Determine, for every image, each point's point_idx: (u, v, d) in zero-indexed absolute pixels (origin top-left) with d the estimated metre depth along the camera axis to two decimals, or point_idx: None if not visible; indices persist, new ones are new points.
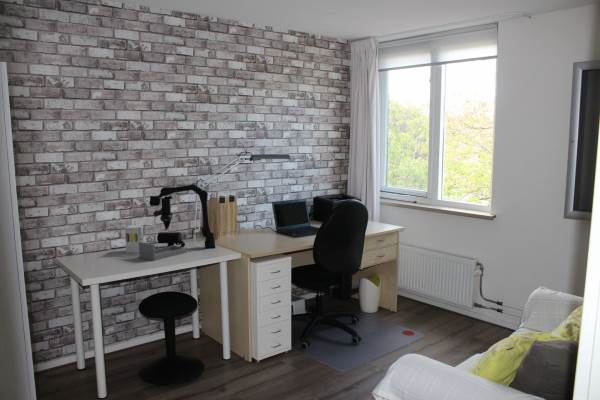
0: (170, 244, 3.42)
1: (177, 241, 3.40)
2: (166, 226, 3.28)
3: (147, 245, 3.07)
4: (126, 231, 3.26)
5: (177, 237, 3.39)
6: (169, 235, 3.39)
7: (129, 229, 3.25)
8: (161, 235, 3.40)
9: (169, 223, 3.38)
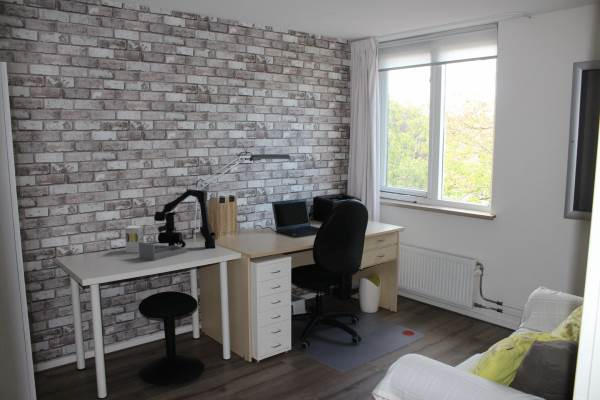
0: (171, 244, 3.42)
1: (178, 241, 3.40)
2: (170, 241, 3.38)
3: (147, 245, 3.07)
4: (126, 231, 3.26)
5: (178, 237, 3.39)
6: None
7: (129, 229, 3.25)
8: (162, 235, 3.39)
9: None
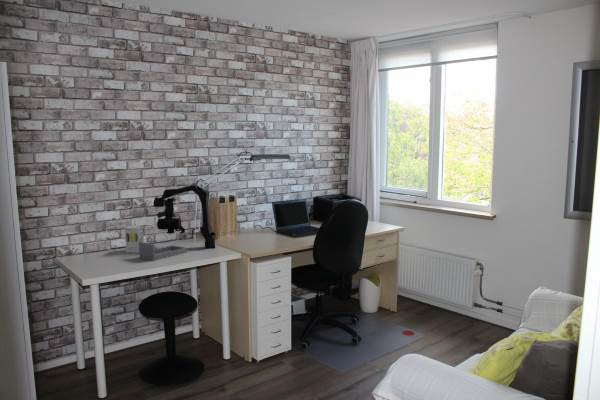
0: None
1: (177, 227, 3.39)
2: (169, 227, 3.37)
3: (147, 245, 3.07)
4: (126, 231, 3.26)
5: (177, 223, 3.37)
6: None
7: (129, 229, 3.25)
8: (161, 221, 3.38)
9: None
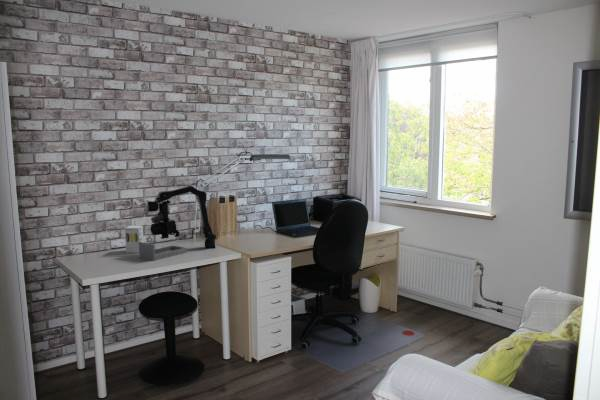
0: (165, 235, 3.23)
1: (174, 230, 3.24)
2: (168, 231, 3.20)
3: (147, 245, 3.07)
4: (126, 231, 3.26)
5: (175, 226, 3.24)
6: None
7: (129, 229, 3.25)
8: (157, 226, 3.18)
9: None
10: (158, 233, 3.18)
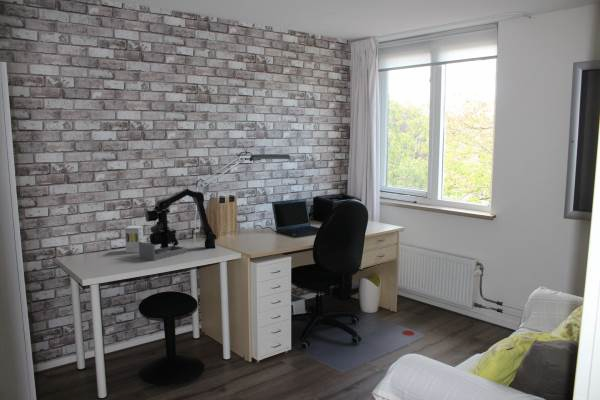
0: (165, 244, 3.19)
1: (173, 239, 3.21)
2: (168, 240, 3.17)
3: (147, 245, 3.07)
4: (126, 231, 3.26)
5: (174, 235, 3.20)
6: None
7: (129, 229, 3.25)
8: (158, 235, 3.13)
9: None
10: (158, 243, 3.14)
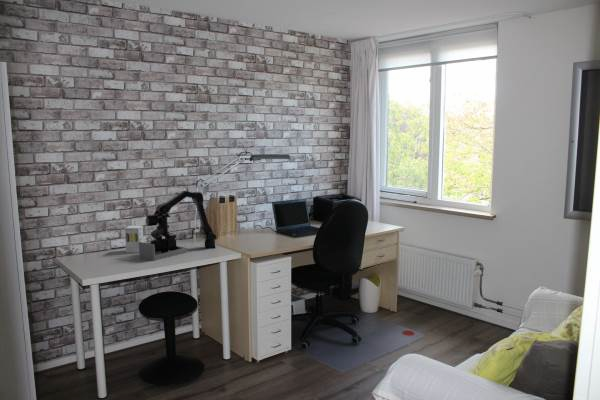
0: (165, 251, 3.19)
1: (174, 246, 3.22)
2: (169, 245, 3.16)
3: (147, 245, 3.07)
4: (126, 231, 3.26)
5: (175, 242, 3.21)
6: (166, 241, 3.18)
7: (129, 229, 3.25)
8: (158, 242, 3.14)
9: None
10: (159, 250, 3.14)
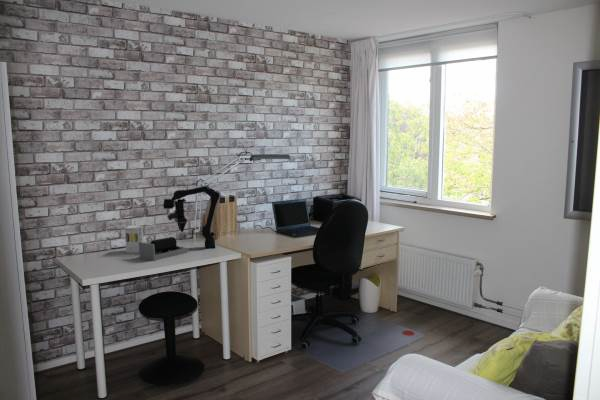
0: (166, 251, 3.20)
1: (174, 246, 3.22)
2: (182, 229, 3.33)
3: (147, 245, 3.07)
4: (126, 231, 3.26)
5: (175, 242, 3.21)
6: (166, 241, 3.18)
7: (129, 229, 3.25)
8: (159, 242, 3.14)
9: None
10: (159, 249, 3.14)
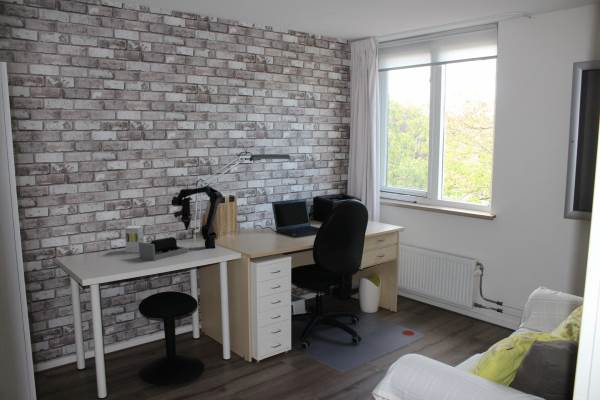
0: (166, 251, 3.20)
1: (174, 246, 3.22)
2: (186, 226, 3.40)
3: (147, 245, 3.07)
4: (126, 231, 3.26)
5: (175, 242, 3.21)
6: (167, 241, 3.18)
7: (129, 229, 3.25)
8: (159, 242, 3.14)
9: (188, 224, 3.49)
10: (160, 249, 3.15)
